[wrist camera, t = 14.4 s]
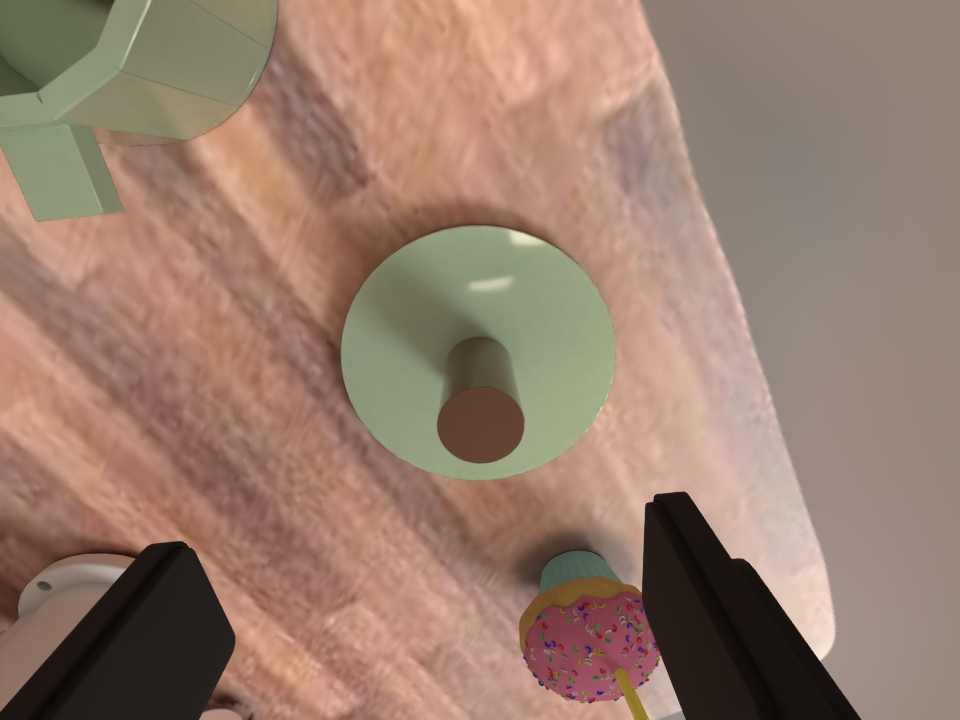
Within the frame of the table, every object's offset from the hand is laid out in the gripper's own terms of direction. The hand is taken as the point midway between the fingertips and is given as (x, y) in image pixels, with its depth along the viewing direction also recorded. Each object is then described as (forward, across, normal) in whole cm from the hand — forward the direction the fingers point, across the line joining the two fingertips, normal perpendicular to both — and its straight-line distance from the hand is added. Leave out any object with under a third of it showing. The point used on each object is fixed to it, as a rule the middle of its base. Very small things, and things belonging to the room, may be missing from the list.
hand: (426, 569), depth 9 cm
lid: (+15, -1, +2) cm, 15 cm away
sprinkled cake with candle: (+16, -6, +19) cm, 26 cm away
